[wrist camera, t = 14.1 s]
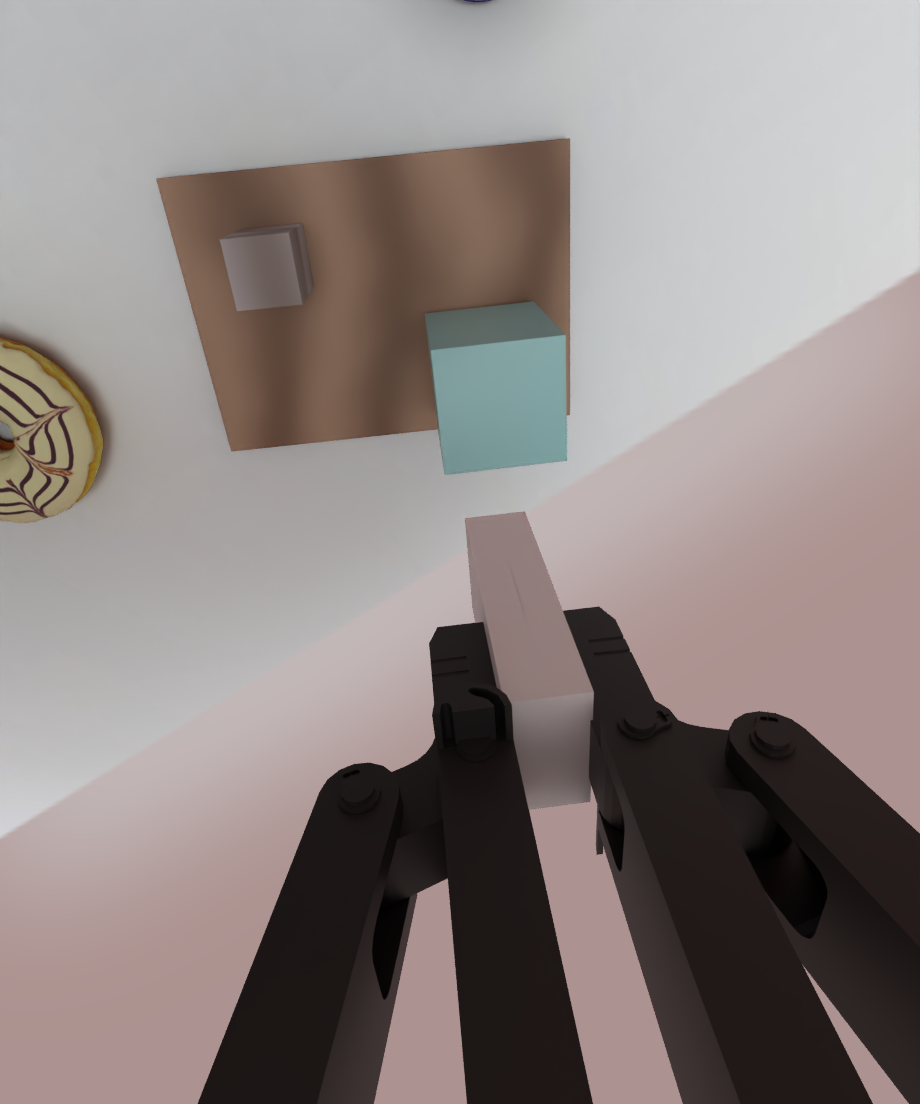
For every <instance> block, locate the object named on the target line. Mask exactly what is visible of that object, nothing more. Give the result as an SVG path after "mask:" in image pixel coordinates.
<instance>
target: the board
mask: <svg viewBox="0 0 920 1104" xmlns="http://www.w3.org/2000/svg"><path fill="white" fill-rule="evenodd" d="M156 180H157V183H158V187H159V191H160V194H161V198H162V201H163V205H164V209H165V212H166V216H167V220H168V223H169V227H170V230H171V234H172V238H173V241H174V245H175V249H176V252H177V256H178V259H179V263H180V267H181V270H182V274H183V278H184V281H185V285H186V288H187V292H188V296H189V299H190V303H191V307H192V310H193V314H194V317H195V321H196V325H197V328H198V332H199V336H200V339H201V343H202V346H203V350H204V354H205V357H206V361H207V365H208V368H209V372H210V376H211V379H212V383H213V386H214V390H215V394H216V397H217V401H218V405H219V408H220V412H221V415H222V419H223V423H224V426H225V430H226V434H227V437H228V441H229V444H230V448H231V451H241V450H250V449H259V448H268V447H278V446H287V445H296V444H305V443H315V442H324V441H333V440H343V439H352V438H361V437H370V436H380V435H389V434H398V433H407V432H417V431H426V430H435V429H438V426H437V419H436V410H435V401H434V393H433V384H432V375H431V366H430V357H429V349H428V340H427V331H426V322H425V313H433V312H442V311H451V310H460V309H469V308H478V307H487V306H496V305H505V304H514V303H523V302H532V301H534V302H535V303H536V304H537V305H538V306H539V307H540V308H541V309H542V310H543V311H544V313H545V314H546V315H547V316H548V317H549V318H550V319H551V320H552V321H553V322H554V323H555V324H556V325H557V326H558V327H559V329H560V330H561V331H562V332H563V333H564V334H565V335H566V415H570V138H569V139H559V140H548V141H538V142H528V143H517V144H507V145H497V146H487V147H476V148H466V149H456V150H445V151H435V152H425V153H415V154H404V155H394V156H384V157H374V158H363V159H353V160H343V161H332V162H322V163H312V164H302V165H291V166H281V167H271V168H260V169H250V170H240V171H230V172H219V173H209V174H199V175H189V176H178V177H168V178H158V179H156Z"/></svg>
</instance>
